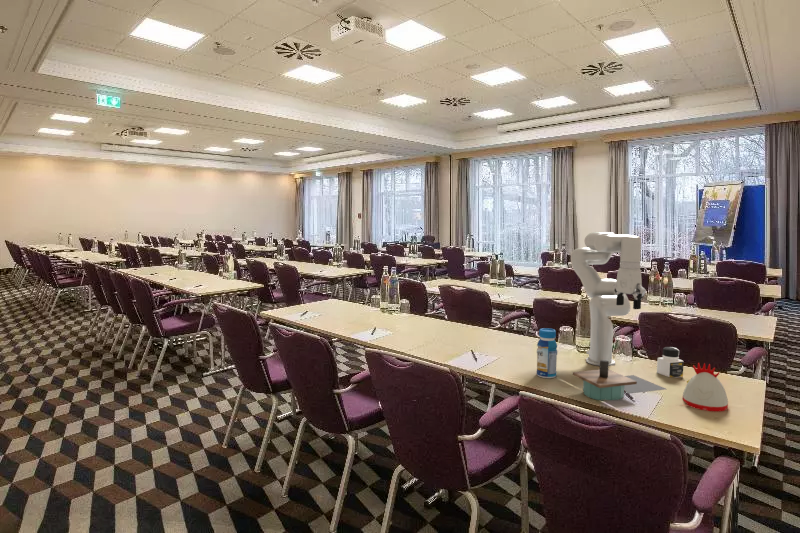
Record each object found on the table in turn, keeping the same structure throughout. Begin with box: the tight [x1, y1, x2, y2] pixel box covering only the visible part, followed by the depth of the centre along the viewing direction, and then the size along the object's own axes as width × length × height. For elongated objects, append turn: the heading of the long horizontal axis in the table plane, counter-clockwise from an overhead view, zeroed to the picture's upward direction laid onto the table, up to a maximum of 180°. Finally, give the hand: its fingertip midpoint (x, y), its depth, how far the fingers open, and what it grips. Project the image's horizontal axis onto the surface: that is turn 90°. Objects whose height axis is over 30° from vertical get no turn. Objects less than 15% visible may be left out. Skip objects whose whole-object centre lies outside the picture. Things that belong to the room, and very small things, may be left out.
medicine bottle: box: [656, 346, 684, 379], centre depth 208 cm, size 7×7×12 cm
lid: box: [571, 360, 637, 388], centre depth 185 cm, size 16×16×7 cm
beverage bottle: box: [536, 327, 558, 379], centre depth 208 cm, size 8×8×20 cm
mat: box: [624, 374, 667, 394], centre depth 196 cm, size 18×18×1 cm
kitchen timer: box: [682, 362, 729, 412], centre depth 176 cm, size 14×14×15 cm
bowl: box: [582, 380, 625, 402], centre depth 185 cm, size 14×14×6 cm
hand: (628, 307), depth 202 cm, fingers open, 9 cm apart
